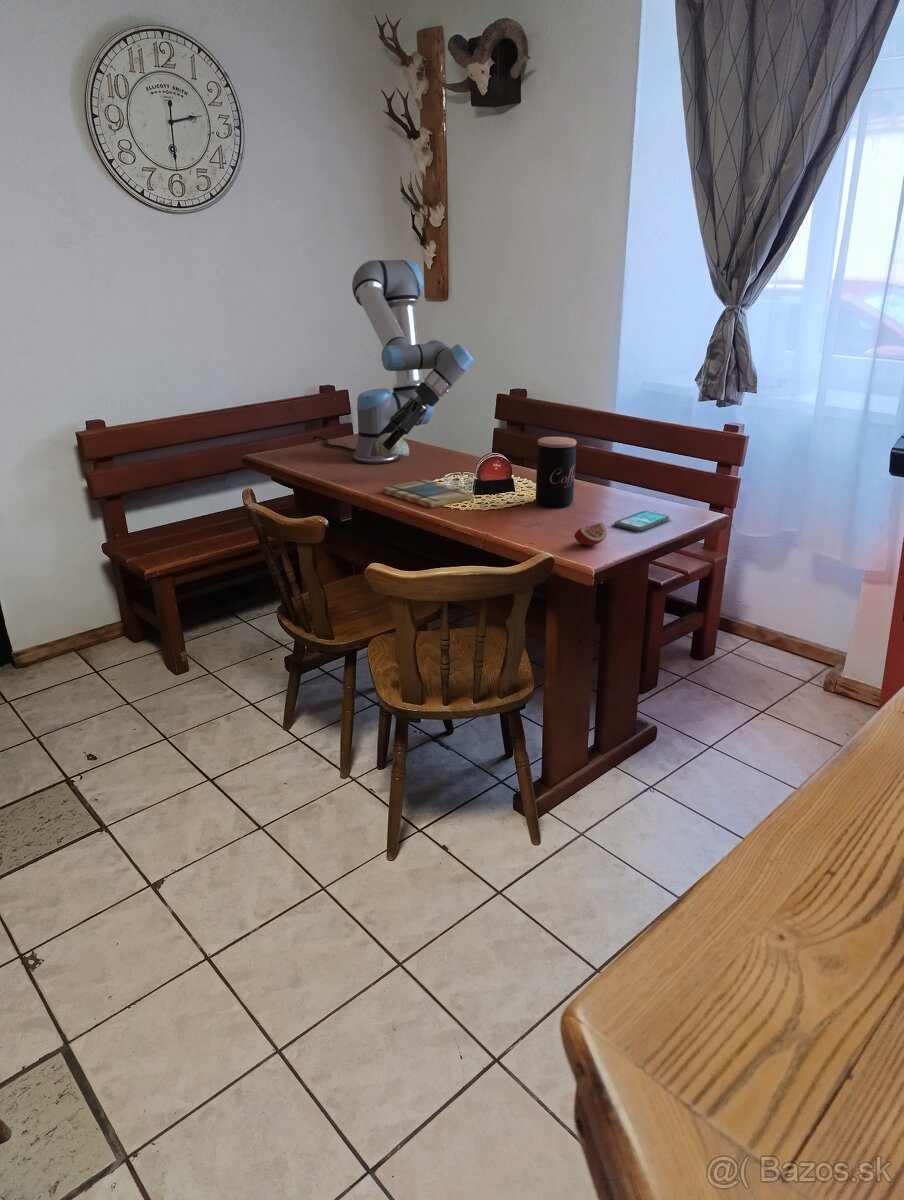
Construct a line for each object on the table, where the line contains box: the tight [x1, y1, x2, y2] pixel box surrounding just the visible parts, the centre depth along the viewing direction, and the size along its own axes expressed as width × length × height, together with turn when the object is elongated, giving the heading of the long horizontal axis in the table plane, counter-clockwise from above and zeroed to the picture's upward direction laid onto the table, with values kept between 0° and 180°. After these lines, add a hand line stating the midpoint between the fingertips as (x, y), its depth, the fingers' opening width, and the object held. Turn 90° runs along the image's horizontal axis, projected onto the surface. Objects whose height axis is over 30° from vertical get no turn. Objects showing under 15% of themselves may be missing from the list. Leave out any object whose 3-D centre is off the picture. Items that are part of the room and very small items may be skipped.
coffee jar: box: [535, 436, 578, 509], centre depth 228 cm, size 11×11×18 cm
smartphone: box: [614, 510, 670, 532], centre depth 214 cm, size 9×1×15 cm
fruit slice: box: [573, 522, 608, 546], centre depth 197 cm, size 8×7×5 cm
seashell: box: [376, 432, 410, 458], centre depth 251 cm, size 10×10×10 cm
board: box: [382, 478, 474, 509], centre depth 239 cm, size 22×16×2 cm
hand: (382, 444), depth 250 cm, fingers closed on seashell, 10 cm apart
